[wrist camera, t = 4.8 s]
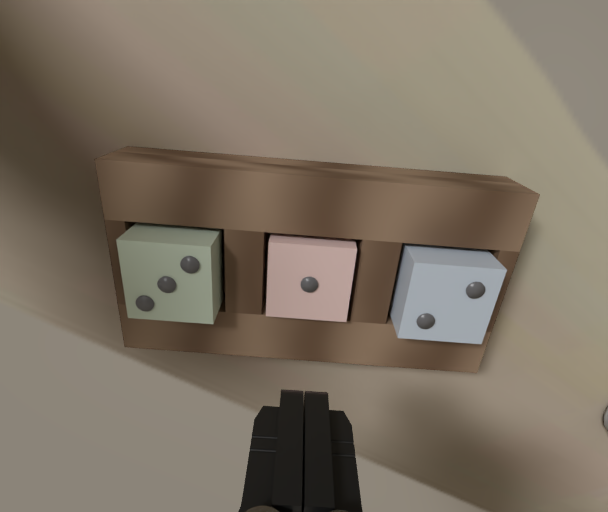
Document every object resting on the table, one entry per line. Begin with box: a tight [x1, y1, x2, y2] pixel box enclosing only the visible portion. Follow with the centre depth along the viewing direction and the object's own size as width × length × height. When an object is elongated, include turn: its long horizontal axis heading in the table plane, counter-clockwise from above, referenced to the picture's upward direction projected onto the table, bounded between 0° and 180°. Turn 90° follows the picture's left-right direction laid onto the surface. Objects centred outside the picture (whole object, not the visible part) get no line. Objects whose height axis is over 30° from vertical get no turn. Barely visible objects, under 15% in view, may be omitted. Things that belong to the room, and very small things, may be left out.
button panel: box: [95, 146, 540, 373], centre depth 22 cm, size 21×11×4 cm, turn 86°
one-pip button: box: [266, 233, 357, 322], centre depth 21 cm, size 4×4×2 cm
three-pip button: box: [116, 222, 223, 324], centre depth 20 cm, size 4×4×2 cm
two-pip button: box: [389, 243, 507, 344], centre depth 20 cm, size 4×4×2 cm
